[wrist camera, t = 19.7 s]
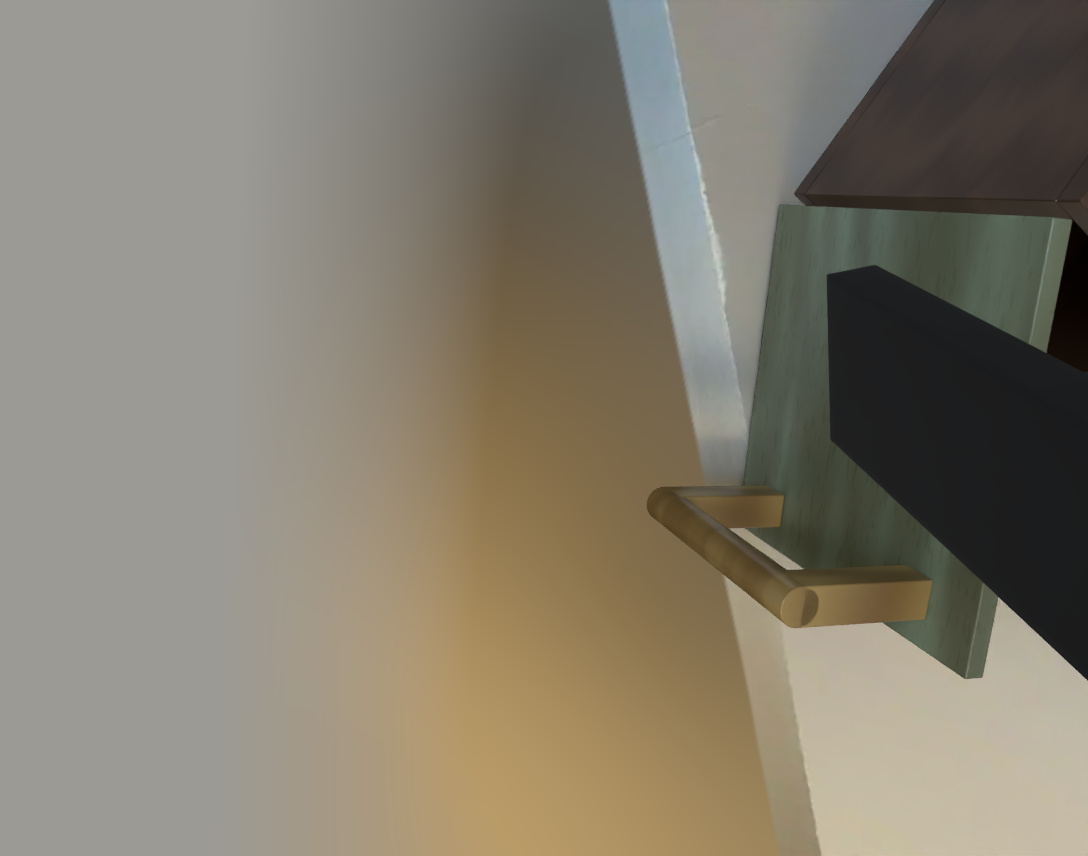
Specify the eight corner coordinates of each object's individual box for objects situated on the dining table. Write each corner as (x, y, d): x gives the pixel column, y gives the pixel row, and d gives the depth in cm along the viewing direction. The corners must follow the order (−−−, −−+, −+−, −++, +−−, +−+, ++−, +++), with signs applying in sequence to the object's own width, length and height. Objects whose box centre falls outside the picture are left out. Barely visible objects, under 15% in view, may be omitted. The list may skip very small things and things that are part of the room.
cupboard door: (623, 527, 48) (809, 693, 32) (657, 193, 44) (885, 201, 29) (751, 523, 50) (983, 678, 34) (793, 205, 46) (1073, 219, 31)
